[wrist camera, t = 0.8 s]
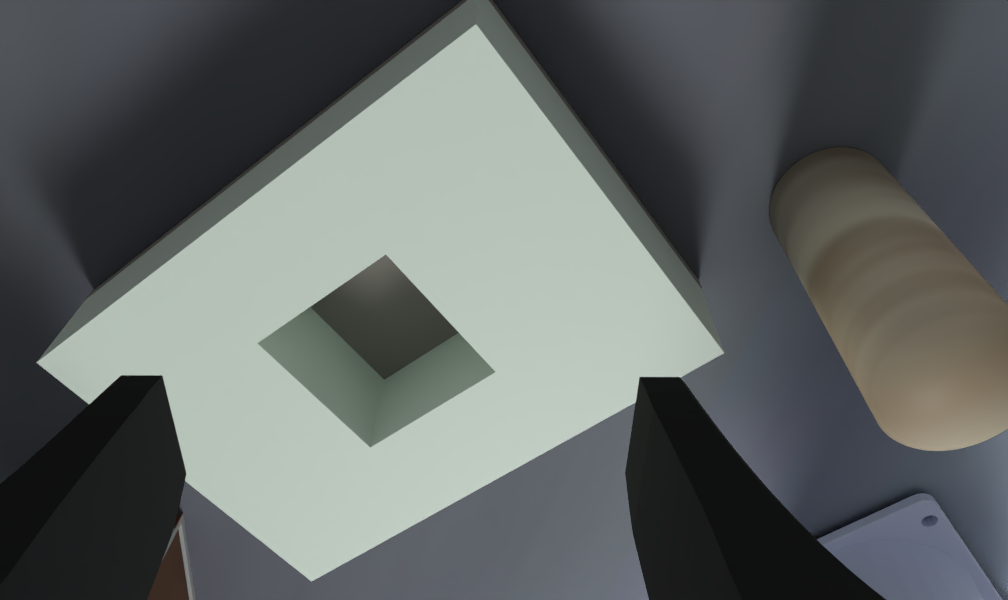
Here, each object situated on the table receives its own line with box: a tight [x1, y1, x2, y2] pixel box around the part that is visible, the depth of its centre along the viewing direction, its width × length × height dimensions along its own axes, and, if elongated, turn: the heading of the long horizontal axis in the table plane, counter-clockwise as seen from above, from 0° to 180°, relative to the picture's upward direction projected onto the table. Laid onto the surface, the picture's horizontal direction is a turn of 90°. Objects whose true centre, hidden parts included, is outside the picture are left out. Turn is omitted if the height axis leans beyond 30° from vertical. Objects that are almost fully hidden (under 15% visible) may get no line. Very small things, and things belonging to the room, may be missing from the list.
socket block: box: [36, 0, 724, 581], centre depth 23 cm, size 10×14×4 cm
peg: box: [769, 147, 1008, 451], centre depth 20 cm, size 3×3×8 cm
